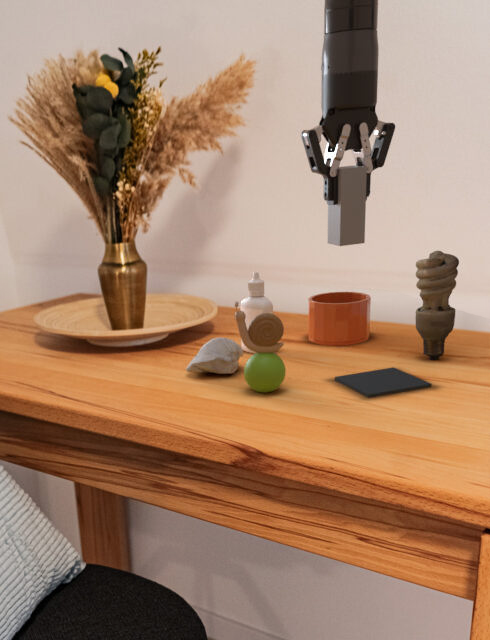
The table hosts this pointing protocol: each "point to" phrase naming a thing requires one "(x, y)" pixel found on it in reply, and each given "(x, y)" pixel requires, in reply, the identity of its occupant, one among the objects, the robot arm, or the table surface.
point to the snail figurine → (262, 350)
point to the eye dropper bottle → (255, 303)
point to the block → (348, 207)
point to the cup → (339, 318)
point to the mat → (382, 382)
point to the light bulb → (436, 301)
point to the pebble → (217, 357)
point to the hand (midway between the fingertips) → (346, 202)
